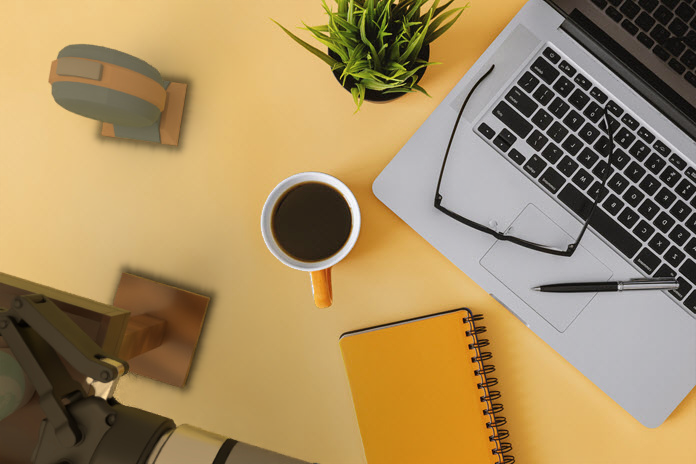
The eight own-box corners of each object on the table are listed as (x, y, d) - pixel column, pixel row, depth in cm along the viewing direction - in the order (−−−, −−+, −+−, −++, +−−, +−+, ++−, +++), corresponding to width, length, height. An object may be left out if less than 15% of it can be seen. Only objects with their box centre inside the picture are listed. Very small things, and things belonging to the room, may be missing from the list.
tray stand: (184, 386, 74) (62, 472, 45) (99, 359, 75) (-75, 426, 46) (210, 297, 74) (105, 326, 45) (125, 272, 75) (-31, 284, 46)
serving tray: (75, 499, 45) (50, 520, 41) (-100, 441, 46) (-139, 456, 42) (131, 311, 45) (111, 316, 42) (-44, 258, 46) (-78, 258, 43)
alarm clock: (193, 85, 76) (138, 34, 58) (183, 146, 75) (125, 114, 58) (106, 74, 77) (25, 20, 59) (95, 134, 76) (12, 98, 59)
